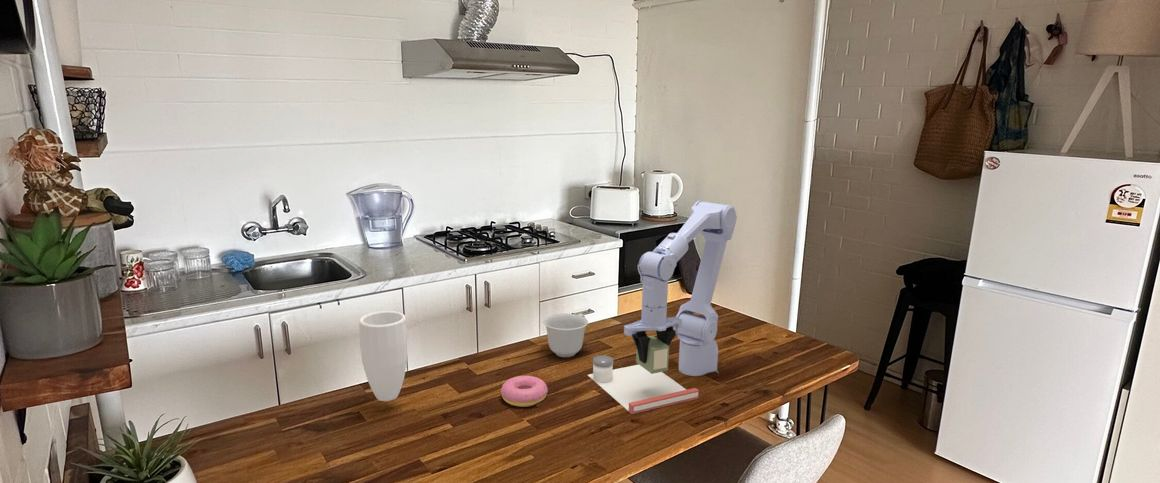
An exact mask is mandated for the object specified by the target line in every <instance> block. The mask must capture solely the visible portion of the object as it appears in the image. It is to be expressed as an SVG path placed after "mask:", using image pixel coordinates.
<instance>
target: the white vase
mask: <svg viewBox="0 0 1160 483" xmlns="http://www.w3.org/2000/svg"><path fill="white" fill-rule="evenodd" d="M358 324H359V327H358V328H359V347H360V354H361V361H362V362H361V364H362V366H363V370H364V372H365V377H366V380H367V382H368V384H369V386H370V389H371V391H372V392H373V394H374V396H375V399H377V400H378V401H381V402H390V401H393V400H396V399H397V398H398V397H399V395H400V392H401V390H402V386H403V383H404V379H405V377H406V376H405V375H406V368H407V364H408V332H407V320H406V315H405V314H404V313H402V312H399V311H396V310H382V311H379V310H378V311H374V312H370V313H367V314H365V315H363V316H362V317H360V319H359V322H358Z"/></svg>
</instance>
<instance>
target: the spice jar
mask: <svg viewBox="0 0 1160 483" xmlns="http://www.w3.org/2000/svg"><path fill="white" fill-rule="evenodd" d="M592 363H593V364H592V365H593V366H592V367H593V368H592V374H593V380H592V381H593V382H595V381H596V382H599V383H607V382H610V381H612V376H613V370H614V369H613V368H614V367H613V366H614V358H613V357H611V356H609V355H601V354H600V355H597V356H594V357H593V359H592ZM596 382H595V383H596Z"/></svg>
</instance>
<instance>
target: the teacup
mask: <svg viewBox="0 0 1160 483" xmlns="http://www.w3.org/2000/svg"><path fill="white" fill-rule="evenodd" d="M588 324H589V320H588V319H587V318H586V316H585V315H584V313H578V314H575V313H555V314H552V315H548V316H547V317H546V318H544V319H543V325H545V328H546V333H547V334H546V336H547V341H548V342H547V343H548V346H549V349H550V350H551V351H552V352H553V353H554V354H555V355H556V356H558V357H561V358H571V357H574V356H575V355H576V354H577V353H579V351H580V350H581V349H582V346H583V343H584V336H585V330H586V326H587V325H588Z"/></svg>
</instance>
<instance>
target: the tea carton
mask: <svg viewBox="0 0 1160 483" xmlns="http://www.w3.org/2000/svg"><path fill="white" fill-rule="evenodd" d="M648 337H649V338H651V339H650V342H649V345H648V351H647V361H646V363H643V362H641V361H640V360H639V355H638V350H637V348H636V352H635V354H636V355H635V363H636V364H637V365H640V366H642V367H643V368H644V369H646V370H647V371H648V372H650V373H651V374H654V373H659V372H662V373H664V372H667V371H668V370H669V358H670V355H669V354H670V345H669V346H668V345H666V344H665V343H663V342H662V341H660V340H659V339H657V336H656V337H655V336H654V335H649V336H648Z"/></svg>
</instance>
